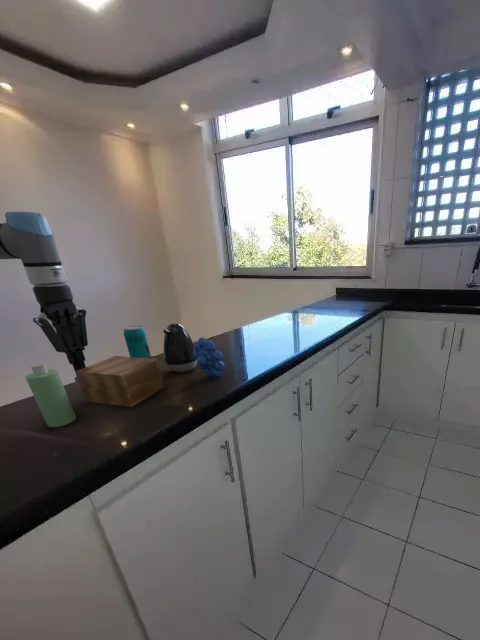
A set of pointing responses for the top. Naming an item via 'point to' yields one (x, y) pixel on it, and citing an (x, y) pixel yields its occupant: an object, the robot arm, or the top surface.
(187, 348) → the pump dispenser
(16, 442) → the top surface
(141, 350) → the beverage can
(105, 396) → the cabinet
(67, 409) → the soap bottle
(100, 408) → the top surface
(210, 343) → the grapes
